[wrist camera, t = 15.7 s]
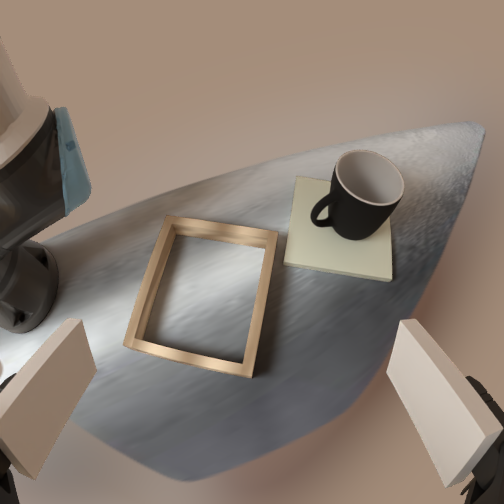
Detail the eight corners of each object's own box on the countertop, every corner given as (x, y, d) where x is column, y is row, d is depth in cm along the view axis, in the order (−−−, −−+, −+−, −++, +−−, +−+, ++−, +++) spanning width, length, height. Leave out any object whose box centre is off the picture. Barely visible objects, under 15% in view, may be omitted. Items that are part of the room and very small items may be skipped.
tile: (283, 265, 41) (283, 261, 40) (295, 180, 48) (296, 175, 47) (389, 282, 39) (392, 279, 38) (385, 196, 46) (387, 193, 45)
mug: (358, 190, 45) (377, 143, 37) (390, 236, 42) (418, 194, 33) (290, 213, 43) (299, 163, 34) (320, 266, 40) (339, 223, 31)
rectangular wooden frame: (131, 349, 35) (122, 344, 33) (170, 226, 44) (166, 215, 41) (251, 378, 34) (251, 376, 31) (276, 242, 42) (278, 231, 40)
